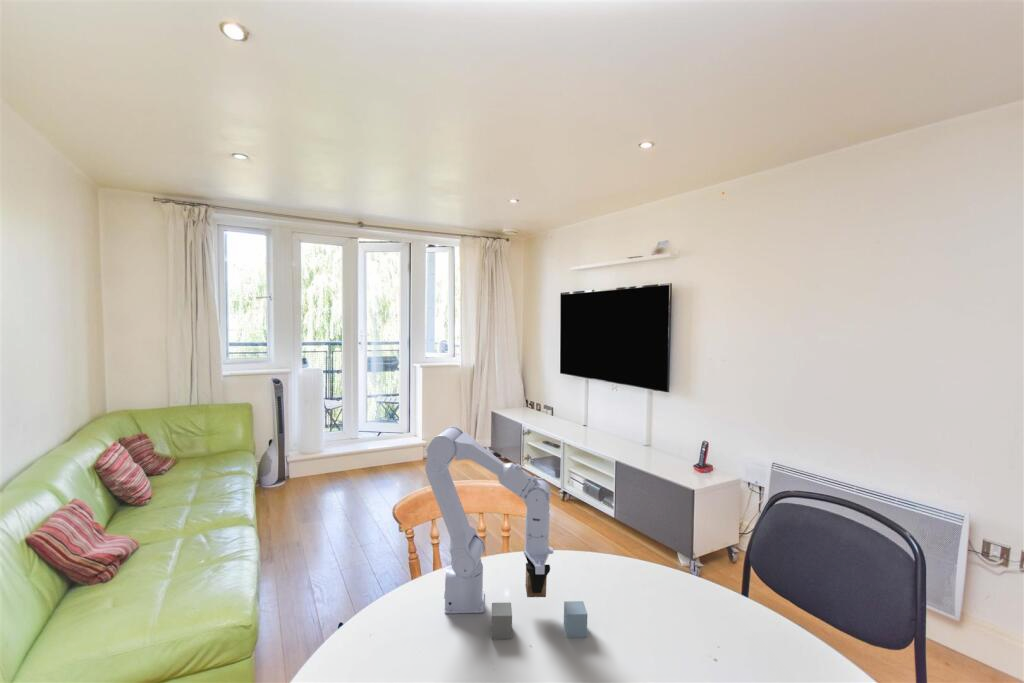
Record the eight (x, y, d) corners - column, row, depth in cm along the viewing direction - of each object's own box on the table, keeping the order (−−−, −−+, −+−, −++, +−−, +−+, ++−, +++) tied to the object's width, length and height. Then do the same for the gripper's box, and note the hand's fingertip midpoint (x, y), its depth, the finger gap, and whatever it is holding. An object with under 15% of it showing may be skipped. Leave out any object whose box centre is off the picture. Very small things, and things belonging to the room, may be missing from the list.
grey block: (491, 639, 101) (492, 616, 100) (491, 625, 105) (491, 602, 105) (511, 639, 101) (512, 615, 100) (510, 624, 105) (511, 602, 105)
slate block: (567, 637, 102) (567, 614, 101) (563, 623, 106) (564, 601, 106) (586, 637, 102) (587, 614, 101) (582, 623, 106) (583, 601, 106)
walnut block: (527, 597, 107) (527, 575, 107) (525, 585, 112) (526, 564, 111) (545, 597, 107) (546, 574, 107) (543, 585, 112) (544, 564, 112)
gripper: (558, 547, 101) (556, 604, 102) (549, 517, 116) (547, 568, 117) (527, 547, 101) (525, 605, 102) (522, 517, 115) (520, 568, 117)
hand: (535, 585), depth 109 cm, fingers closed on walnut block, 4 cm apart
